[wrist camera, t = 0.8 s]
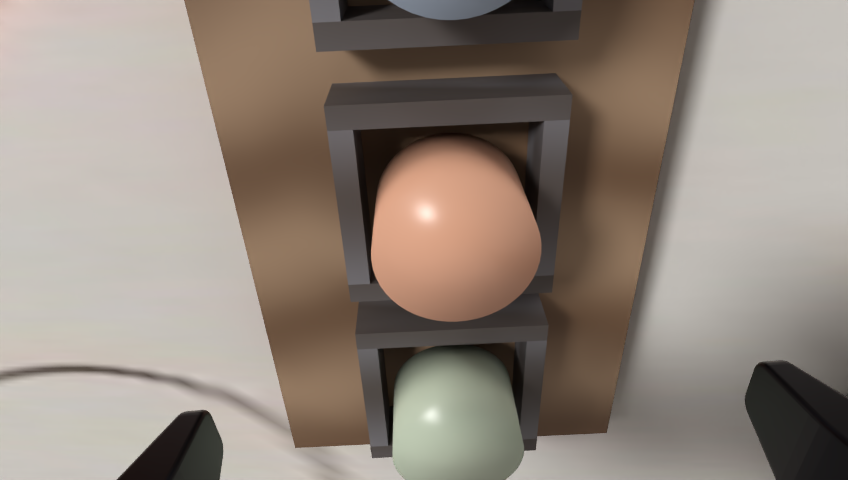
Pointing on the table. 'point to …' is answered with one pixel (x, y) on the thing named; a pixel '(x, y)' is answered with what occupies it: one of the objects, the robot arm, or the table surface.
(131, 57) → the table surface
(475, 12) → the slate button
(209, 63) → the button panel
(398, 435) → the sage button
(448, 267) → the terracotta button
